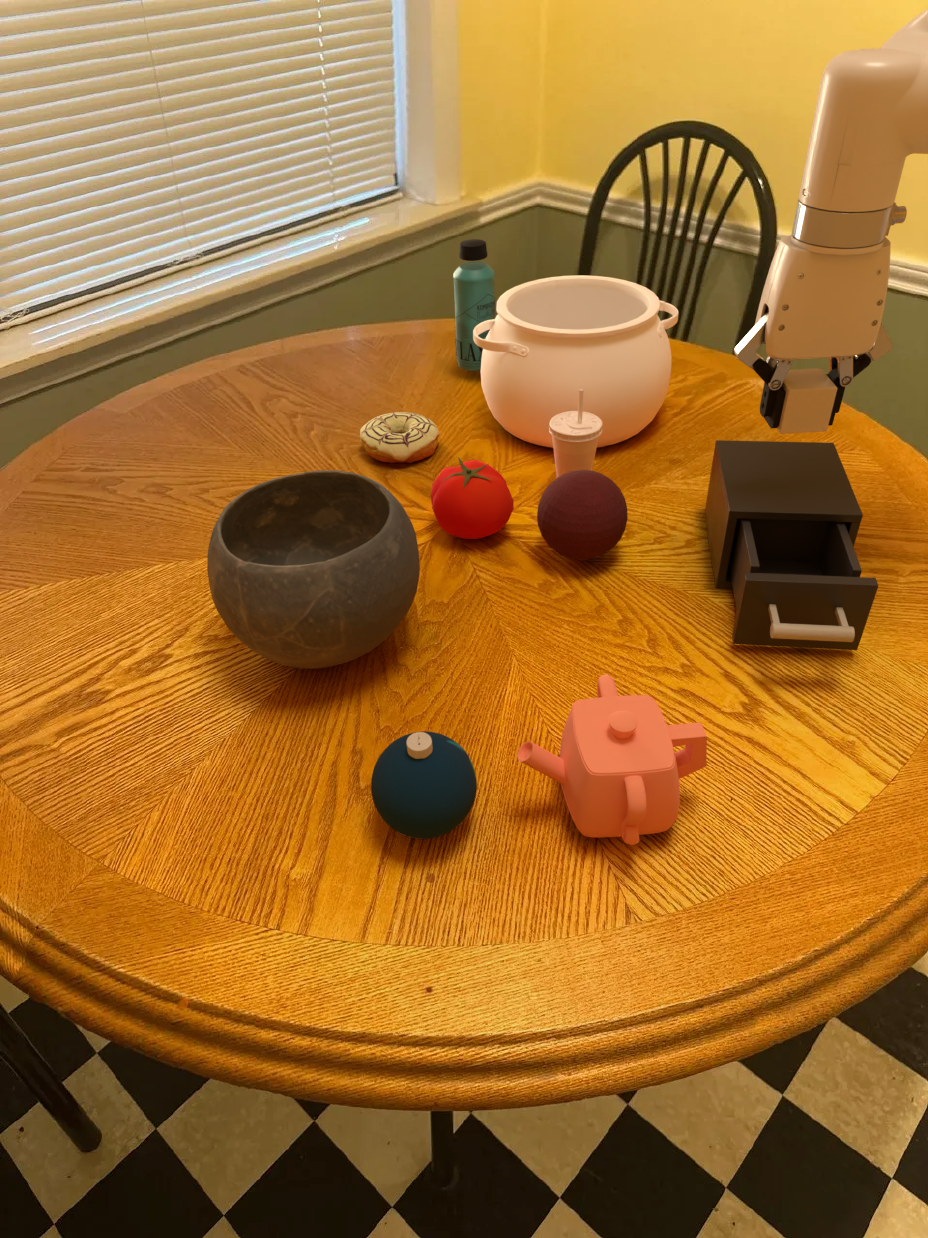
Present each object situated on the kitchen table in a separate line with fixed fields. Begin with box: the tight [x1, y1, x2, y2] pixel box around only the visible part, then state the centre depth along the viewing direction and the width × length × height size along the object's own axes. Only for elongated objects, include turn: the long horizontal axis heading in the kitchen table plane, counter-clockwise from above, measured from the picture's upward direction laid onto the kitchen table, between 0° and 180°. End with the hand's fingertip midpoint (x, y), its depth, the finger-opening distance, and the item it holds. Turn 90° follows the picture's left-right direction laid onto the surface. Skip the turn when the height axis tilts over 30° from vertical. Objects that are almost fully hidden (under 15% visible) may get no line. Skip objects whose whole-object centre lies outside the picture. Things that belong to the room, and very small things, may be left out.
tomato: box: [429, 456, 515, 540], centre depth 101 cm, size 9×10×8 cm
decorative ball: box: [536, 470, 629, 561], centre depth 96 cm, size 10×10×10 cm
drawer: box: [729, 518, 879, 651], centre depth 85 cm, size 18×12×8 cm, turn 173°
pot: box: [473, 275, 679, 449], centre depth 120 cm, size 29×26×16 cm
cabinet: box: [704, 439, 864, 590], centre depth 94 cm, size 15×13×10 cm
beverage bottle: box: [452, 238, 497, 372], centre depth 132 cm, size 6×7×20 cm
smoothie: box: [549, 389, 602, 478], centre depth 104 cm, size 6×6×14 cm
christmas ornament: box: [370, 730, 478, 840], centre depth 68 cm, size 8×8×10 cm
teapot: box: [517, 674, 708, 846], centre depth 68 cm, size 12×12×10 cm
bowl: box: [206, 469, 420, 670], centre depth 85 cm, size 20×20×15 cm
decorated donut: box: [359, 411, 441, 464], centre depth 118 cm, size 10×11×4 cm
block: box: [776, 367, 837, 435], centre depth 83 cm, size 4×4×4 cm
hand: (796, 418), depth 85 cm, fingers closed on block, 4 cm apart
